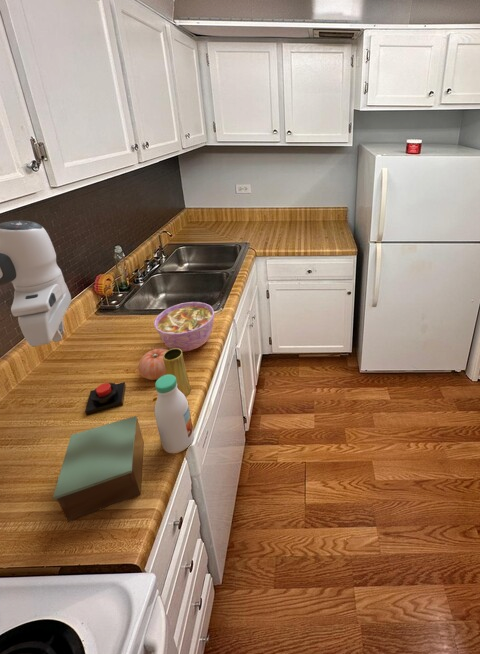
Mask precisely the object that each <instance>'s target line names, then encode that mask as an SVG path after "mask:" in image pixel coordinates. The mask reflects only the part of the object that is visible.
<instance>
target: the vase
mask: <svg viewBox="0 0 480 654" xmlns="http://www.w3.org/2000/svg"><path fill="white" fill-rule="evenodd" d="M167 350H168V351H166V352H165V353H164V355H163V360H164V365H165V369H166V375H169V374H170V375H174V376H175V377H176V380H177V388H178V389H179V390H180V391H181V392H182V393H183V394H184V396H185V397H187V396H188V395H189V394H190V392H191V390H192V388H191V387H192V386H191V385H190V380H189V375H188V372H187V367H186V363H185V358H184V355H183V351H182V350H181V349H178V348H173V349H170V348H169V349H167Z"/></svg>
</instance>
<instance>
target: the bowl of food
mask: <svg viewBox="0 0 480 654" xmlns="http://www.w3.org/2000/svg"><path fill="white" fill-rule="evenodd" d="M214 318H215V311H214V308H213V307H212V306H211V305H210V304H207V303H205V302H201V301H189V302H188V301H187V302H181V303H178V304H175V305H172V306H170V307H167V308H166V309H164V310H163V311H162V312H160V313H158V315H157V317H156V318H155V319H154V322H153V326H154V328H155V330H156V332H157V333H158V335H159V336H160V339H161V340H162V342H163V344H164V345H165V347H166V348H169V350H170V349H173V348H178V349H181V350H182V352H190V351H193V350H196V349H198V348H200V347H201V346H203V345H205V343H206V342H207V341H208V340H209V339H210V337H211V334H212V331H213V327H214Z"/></svg>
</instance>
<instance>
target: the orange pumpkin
mask: <svg viewBox="0 0 480 654" xmlns="http://www.w3.org/2000/svg"><path fill="white" fill-rule="evenodd" d="M168 350H169V349H167V348H165V347H164V348H163V347H159V348H154V349H151V350H149V351H147V352H146V353H145V354H144V355H143V356H142V357H141V358H140V360H139V362H138V364H137V368H138V369H137V370H138V372H139V374H140V376H142V378H144V379H147V380H151V381H153V380H158V379H159V378H160V377H162V376H164V375H166V369H165V365H164V360H163V355H164V353H165V352H166V351H168Z"/></svg>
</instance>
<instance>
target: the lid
mask: <svg viewBox="0 0 480 654" xmlns="http://www.w3.org/2000/svg"><path fill="white" fill-rule="evenodd" d="M137 419H138V416H137V415H133V416H130V417H127V418H123V419H121V420H117V421H114V422H110V423H107V424H103V425H99V426H96V427H93V428H90V429H86V430H83V431H80V432H76V433H74V434H71V435H70V437H69V441H68V443H67V447H66V451H65V455H64V458H63V462H62V464H61V469H60V471H59V475H58V479H57V483H56V485H55V489H54V492H53V496H52V500H54V501H55V500H57V499H58V498H61V497H63V496H66V495H69V494H72V493H75V492H78V491H81V490H83V489H86V488H89V487H92V486H95V485H98V484H100V483H103V482H106V481H109V480H112V479H115V478H118V477H120V476H123V475H126V474H129V473H132V466H133V456H134V445H135V434H136V423H137Z"/></svg>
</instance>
